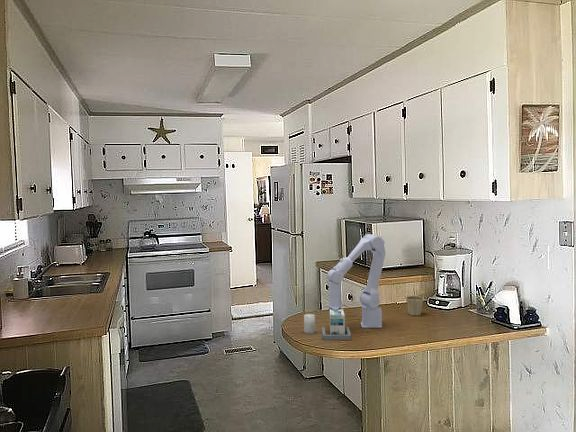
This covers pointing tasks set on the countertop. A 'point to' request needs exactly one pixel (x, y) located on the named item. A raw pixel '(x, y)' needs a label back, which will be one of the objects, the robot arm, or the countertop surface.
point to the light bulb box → (337, 322)
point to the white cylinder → (309, 323)
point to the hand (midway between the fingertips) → (334, 323)
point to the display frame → (336, 337)
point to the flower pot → (414, 305)
